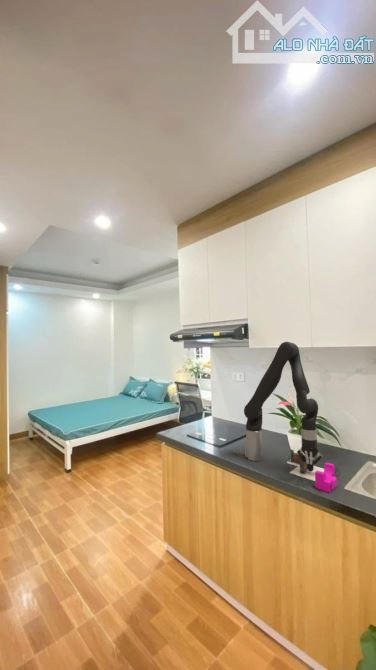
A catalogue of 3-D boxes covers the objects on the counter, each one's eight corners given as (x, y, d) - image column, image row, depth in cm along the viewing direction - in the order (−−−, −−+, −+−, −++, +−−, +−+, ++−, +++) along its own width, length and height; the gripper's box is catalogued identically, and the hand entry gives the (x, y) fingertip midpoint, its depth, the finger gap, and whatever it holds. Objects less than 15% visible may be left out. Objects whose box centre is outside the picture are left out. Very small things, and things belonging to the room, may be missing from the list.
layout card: (277, 469, 151) (277, 468, 151) (290, 459, 162) (290, 459, 162) (320, 483, 135) (320, 482, 135) (331, 471, 146) (331, 470, 146)
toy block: (329, 493, 126) (329, 476, 126) (315, 488, 131) (314, 472, 131) (340, 481, 137) (339, 466, 137) (326, 477, 141) (326, 462, 141)
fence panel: (306, 466, 152) (305, 455, 152) (309, 467, 150) (309, 456, 150) (299, 472, 145) (299, 460, 146) (302, 473, 144) (302, 461, 144)
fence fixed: (290, 461, 159) (289, 450, 159) (291, 460, 160) (291, 449, 160) (309, 467, 151) (309, 455, 151) (311, 466, 152) (310, 454, 152)
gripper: (324, 437, 144) (325, 471, 143) (298, 433, 153) (299, 464, 152) (320, 441, 138) (322, 477, 138) (293, 436, 147) (295, 469, 146)
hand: (310, 470), depth 145 cm, fingers closed
